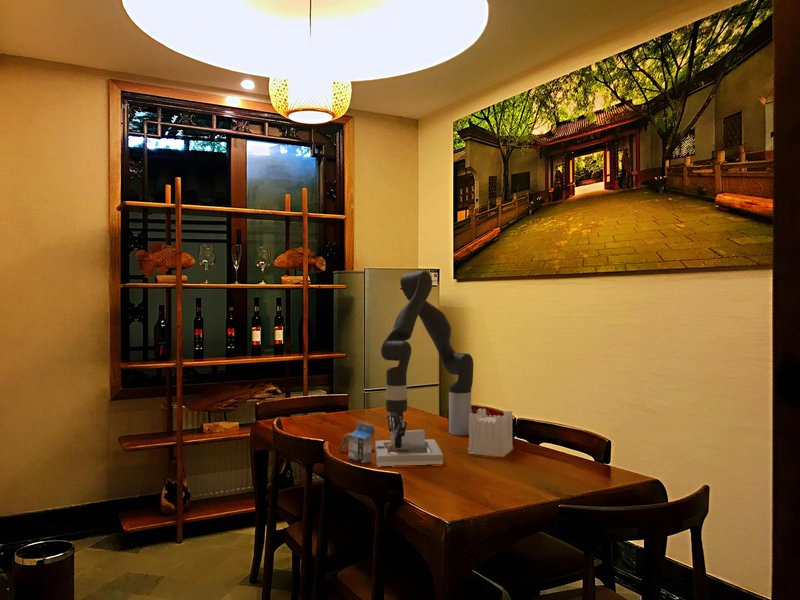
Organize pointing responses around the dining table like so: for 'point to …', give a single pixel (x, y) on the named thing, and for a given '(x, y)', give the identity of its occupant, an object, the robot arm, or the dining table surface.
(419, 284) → the robot arm
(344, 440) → the lion figurine
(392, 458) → the housing
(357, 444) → the label tape box
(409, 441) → the dial
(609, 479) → the dining table surface
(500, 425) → the castle model
